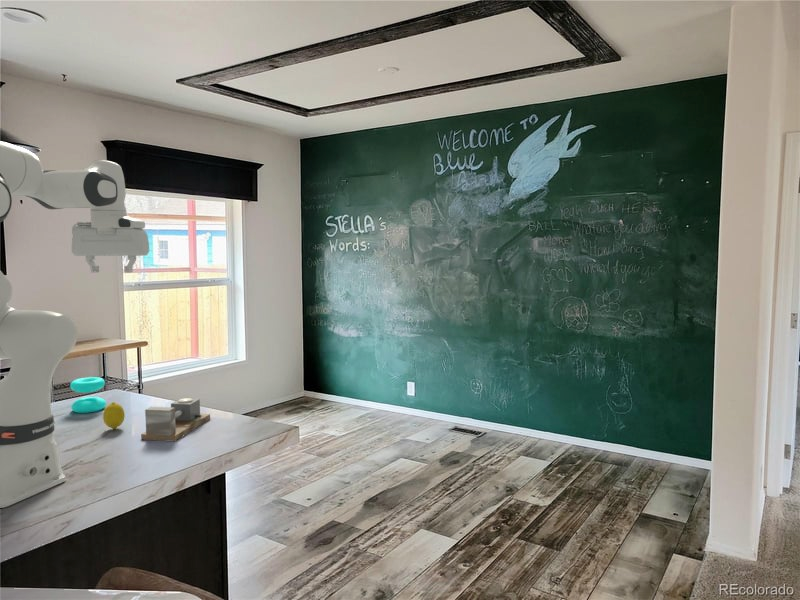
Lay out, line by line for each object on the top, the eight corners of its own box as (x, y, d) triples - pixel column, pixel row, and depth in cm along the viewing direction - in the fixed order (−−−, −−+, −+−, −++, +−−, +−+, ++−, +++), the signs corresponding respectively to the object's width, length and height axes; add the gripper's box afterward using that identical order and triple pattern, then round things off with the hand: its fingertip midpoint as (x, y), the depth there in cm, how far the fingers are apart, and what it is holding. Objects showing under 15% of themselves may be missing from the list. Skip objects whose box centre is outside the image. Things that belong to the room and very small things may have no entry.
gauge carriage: (191, 423, 169) (191, 405, 168) (166, 422, 170) (166, 404, 169) (205, 415, 177) (205, 398, 177) (181, 414, 178) (181, 397, 178)
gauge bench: (175, 441, 159) (174, 410, 158) (141, 439, 160) (140, 409, 160) (210, 418, 180) (209, 391, 179) (179, 417, 181) (178, 390, 180)
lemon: (128, 426, 172) (127, 400, 171) (118, 432, 167) (116, 405, 166) (111, 426, 173) (109, 399, 172) (99, 432, 167) (98, 404, 166)
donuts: (73, 384, 182) (67, 379, 190) (75, 415, 183) (68, 409, 191) (108, 380, 189) (100, 374, 196) (109, 410, 189) (102, 403, 197)
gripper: (64, 221, 156) (67, 273, 158) (139, 221, 156) (142, 273, 157) (78, 222, 162) (81, 271, 164) (150, 222, 162) (152, 271, 163)
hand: (111, 272), depth 160 cm, fingers open, 8 cm apart
